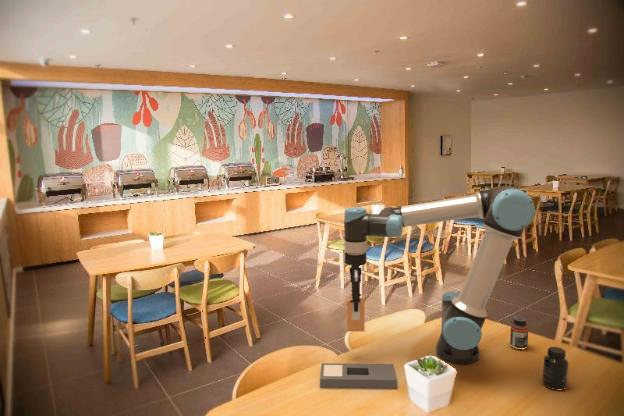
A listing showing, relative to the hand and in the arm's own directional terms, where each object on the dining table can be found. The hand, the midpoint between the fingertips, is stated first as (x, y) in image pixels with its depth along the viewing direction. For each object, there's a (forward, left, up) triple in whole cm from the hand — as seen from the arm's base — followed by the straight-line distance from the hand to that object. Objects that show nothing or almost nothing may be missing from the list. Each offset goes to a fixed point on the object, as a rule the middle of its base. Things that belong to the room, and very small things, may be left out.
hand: (355, 316), depth 156 cm
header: (0, +14, -17) cm, 22 cm away
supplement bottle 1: (-61, -12, -17) cm, 64 cm away
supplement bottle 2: (-62, +14, -17) cm, 66 cm away
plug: (0, 0, -5) cm, 5 cm away
